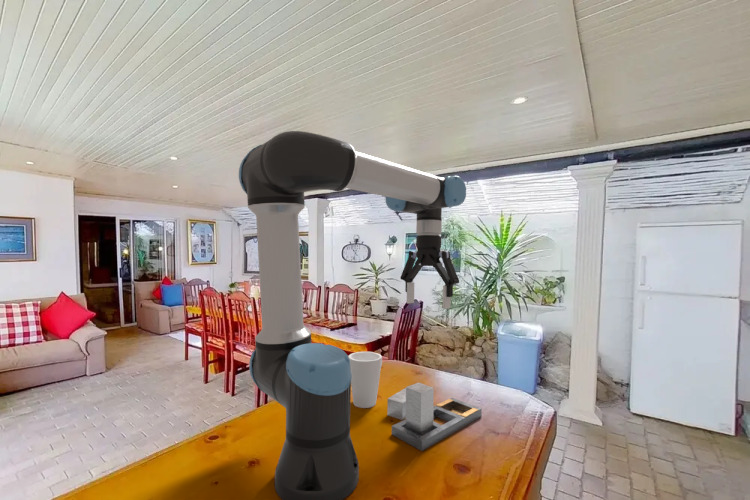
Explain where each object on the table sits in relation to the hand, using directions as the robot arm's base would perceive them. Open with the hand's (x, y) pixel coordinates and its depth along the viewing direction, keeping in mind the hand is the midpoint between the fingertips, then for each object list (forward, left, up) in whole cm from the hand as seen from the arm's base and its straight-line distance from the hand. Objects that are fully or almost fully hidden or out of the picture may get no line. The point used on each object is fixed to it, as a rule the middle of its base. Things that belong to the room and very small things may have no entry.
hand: (427, 305), depth 103 cm
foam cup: (-18, +7, -27) cm, 33 cm away
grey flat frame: (-13, -14, -26) cm, 32 cm away
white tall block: (-20, -14, -27) cm, 36 cm away
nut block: (-13, -3, -27) cm, 30 cm away
